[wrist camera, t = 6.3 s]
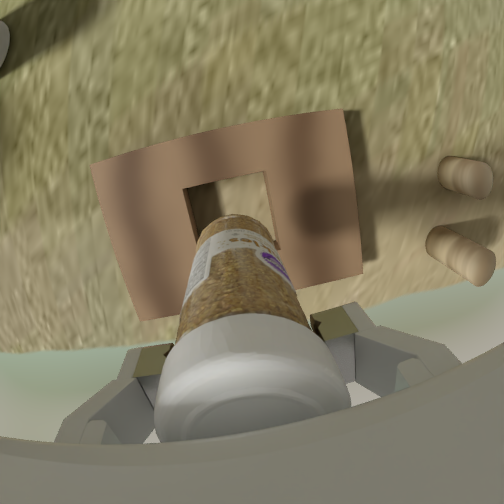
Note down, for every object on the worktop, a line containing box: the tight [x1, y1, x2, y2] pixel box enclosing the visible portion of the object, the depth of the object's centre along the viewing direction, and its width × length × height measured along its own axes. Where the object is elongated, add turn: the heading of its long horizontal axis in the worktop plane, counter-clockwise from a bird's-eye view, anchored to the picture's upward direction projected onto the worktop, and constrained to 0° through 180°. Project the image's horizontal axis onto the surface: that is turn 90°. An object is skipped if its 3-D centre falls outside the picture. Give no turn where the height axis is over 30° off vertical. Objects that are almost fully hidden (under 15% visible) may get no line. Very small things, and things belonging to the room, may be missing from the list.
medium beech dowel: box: [426, 226, 496, 287], centre depth 26 cm, size 3×3×8 cm
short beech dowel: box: [438, 156, 493, 199], centre depth 25 cm, size 3×3×5 cm
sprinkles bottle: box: [154, 214, 351, 443], centre depth 13 cm, size 5×5×13 cm
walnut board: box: [90, 109, 363, 321], centre depth 26 cm, size 20×14×2 cm
